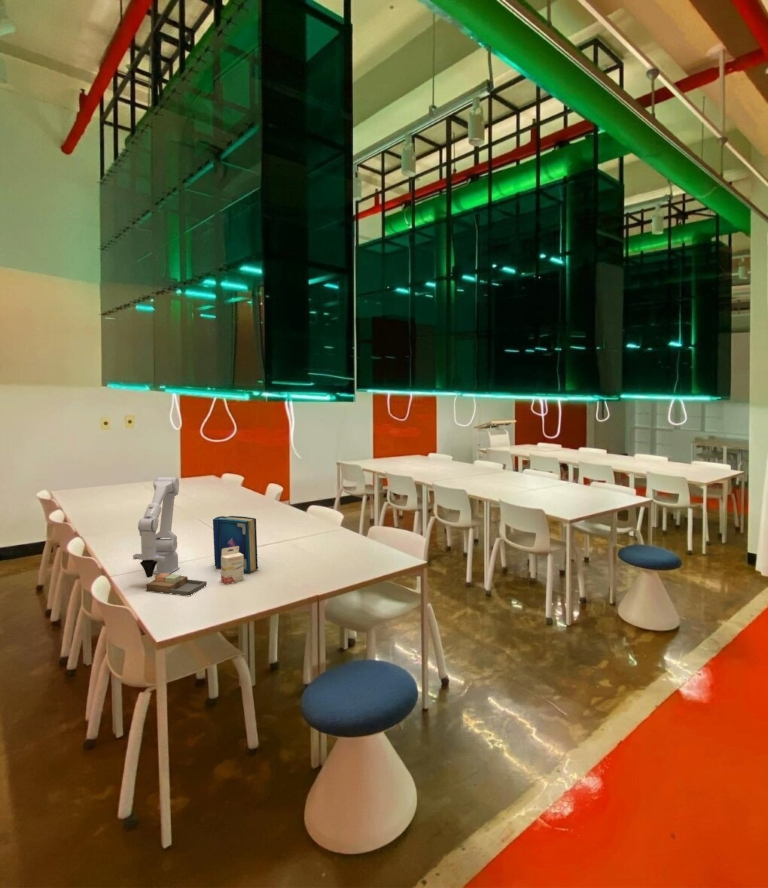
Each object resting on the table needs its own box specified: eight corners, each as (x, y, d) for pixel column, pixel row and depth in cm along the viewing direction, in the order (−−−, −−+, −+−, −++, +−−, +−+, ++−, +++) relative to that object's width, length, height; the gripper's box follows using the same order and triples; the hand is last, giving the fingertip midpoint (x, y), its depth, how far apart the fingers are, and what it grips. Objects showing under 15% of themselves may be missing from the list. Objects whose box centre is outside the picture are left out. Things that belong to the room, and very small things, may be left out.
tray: (188, 583, 213) (188, 579, 213) (206, 585, 211) (206, 581, 210) (170, 593, 201) (170, 589, 201) (189, 596, 199) (189, 591, 199)
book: (211, 568, 232) (210, 516, 230) (221, 563, 239) (220, 513, 237) (249, 574, 224) (248, 521, 222) (258, 569, 231) (258, 517, 229)
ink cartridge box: (225, 584, 212) (225, 551, 211) (220, 581, 216) (220, 548, 214) (244, 580, 217) (243, 547, 216) (239, 577, 221) (239, 545, 220)
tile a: (161, 577, 211) (161, 572, 211) (170, 578, 210) (170, 573, 210) (154, 581, 207) (154, 576, 207) (163, 582, 206) (163, 577, 206)
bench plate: (165, 580, 215) (165, 574, 215) (187, 583, 213) (187, 576, 212) (146, 591, 204) (146, 584, 203) (169, 593, 201) (169, 586, 201)
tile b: (171, 578, 210) (171, 574, 210) (181, 579, 209) (180, 575, 209) (164, 582, 206) (164, 577, 205) (174, 583, 205) (174, 578, 204)
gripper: (127, 547, 207) (128, 578, 208) (156, 549, 203) (157, 581, 204) (139, 542, 213) (140, 572, 215) (168, 545, 210) (169, 575, 211)
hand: (149, 576), depth 210 cm, fingers closed
